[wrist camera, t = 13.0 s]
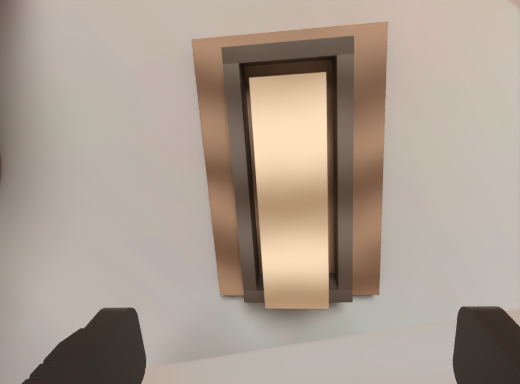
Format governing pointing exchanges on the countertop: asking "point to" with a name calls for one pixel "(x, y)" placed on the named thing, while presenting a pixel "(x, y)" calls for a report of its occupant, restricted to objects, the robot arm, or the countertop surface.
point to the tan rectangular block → (292, 188)
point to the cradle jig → (338, 147)
